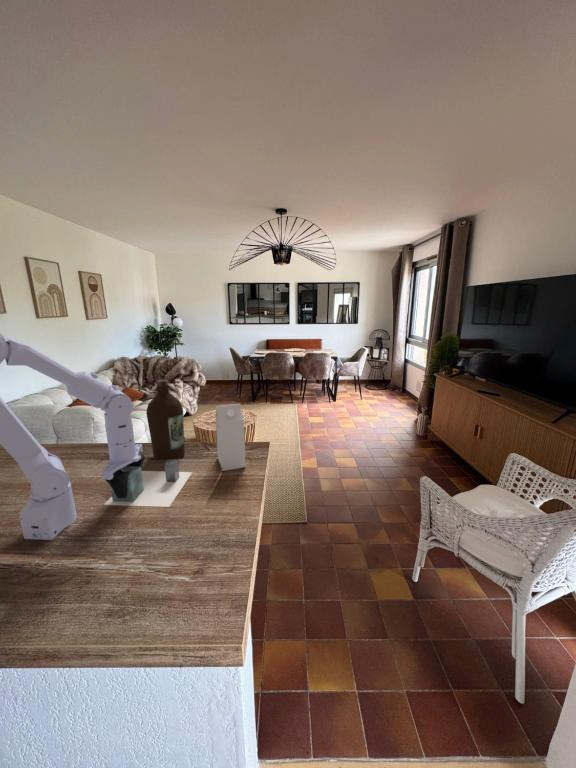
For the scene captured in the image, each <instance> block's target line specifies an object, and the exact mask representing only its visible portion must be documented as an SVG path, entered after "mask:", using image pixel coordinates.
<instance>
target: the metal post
mask: <svg viewBox="0 0 576 768" xmlns="http://www.w3.org/2000/svg"><path fill="white" fill-rule="evenodd" d="M164 472H165V475H166V482H176V481H177V480H178V478H179V472H180V468H179V459H170V460H166V462H165V463H164Z"/></svg>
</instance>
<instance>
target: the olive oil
mask: <svg viewBox="0 0 576 768" xmlns="http://www.w3.org/2000/svg"><path fill="white" fill-rule="evenodd" d="M155 382H156V394H155V395H154V397H153V398H152V399H151V400H150V402H149V403H148V405H147V407H146V413H145V414H146V419H147V425H148V429H149V430H148V431H149V437H150V442H151V448H152V455H153V459H156V460H161V461H168V460H180V459H183V458H184V456H185V453H186V451H185V450H186V448H185V443H186V437H185V430H184V429H185V426H184V425H185V424H184V407H183V405H182V403H181V401H180V400H179V399H178V398H177V397H175V396H174V395H173V394H171V393H170V390H169V387H170V386H169V384H168V382H169V381H168V380H167V379H159V380H158V379H157V380H156V381H155Z"/></svg>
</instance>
